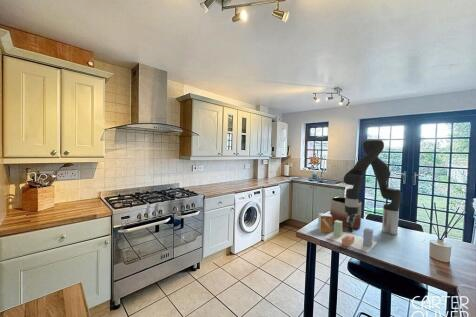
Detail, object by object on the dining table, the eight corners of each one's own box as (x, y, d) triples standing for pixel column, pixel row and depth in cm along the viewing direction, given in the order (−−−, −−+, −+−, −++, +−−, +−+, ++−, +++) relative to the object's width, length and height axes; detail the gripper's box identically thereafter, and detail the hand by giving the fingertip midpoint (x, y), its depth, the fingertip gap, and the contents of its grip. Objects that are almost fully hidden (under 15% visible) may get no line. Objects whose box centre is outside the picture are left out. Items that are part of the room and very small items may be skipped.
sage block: (335, 233, 143) (336, 220, 142) (341, 235, 140) (342, 221, 139) (333, 235, 140) (334, 221, 140) (339, 237, 137) (340, 222, 137)
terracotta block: (347, 234, 133) (342, 238, 127) (354, 236, 130) (348, 240, 124) (347, 239, 134) (341, 244, 127) (354, 242, 131) (348, 247, 124)
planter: (367, 228, 157) (368, 203, 156) (343, 231, 151) (345, 204, 150) (345, 218, 178) (346, 196, 177) (324, 220, 173) (325, 197, 172)
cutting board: (336, 231, 151) (336, 229, 150) (377, 243, 132) (377, 242, 131) (324, 238, 137) (324, 237, 137) (368, 254, 118) (368, 252, 118)
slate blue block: (364, 243, 130) (365, 227, 129) (372, 245, 127) (373, 229, 126) (362, 244, 127) (363, 229, 126) (370, 247, 124) (371, 231, 124)
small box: (320, 233, 146) (321, 215, 145) (317, 229, 152) (318, 212, 152) (331, 234, 145) (332, 216, 145) (328, 230, 152) (329, 213, 151)
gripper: (349, 202, 137) (347, 227, 138) (341, 205, 128) (340, 232, 129) (361, 204, 131) (360, 230, 132) (354, 208, 122) (353, 236, 123)
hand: (350, 231), depth 130 cm, fingers closed
